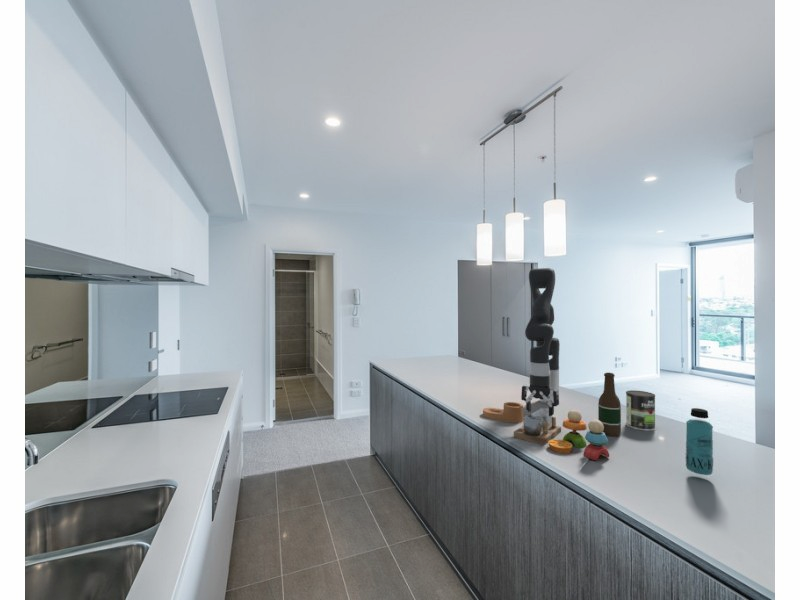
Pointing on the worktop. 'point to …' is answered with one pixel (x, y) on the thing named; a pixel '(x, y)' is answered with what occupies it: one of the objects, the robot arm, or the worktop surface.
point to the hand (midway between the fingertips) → (539, 413)
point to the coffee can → (640, 410)
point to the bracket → (506, 412)
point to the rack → (545, 436)
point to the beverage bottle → (699, 443)
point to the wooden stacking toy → (581, 437)
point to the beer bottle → (610, 408)
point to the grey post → (536, 422)
